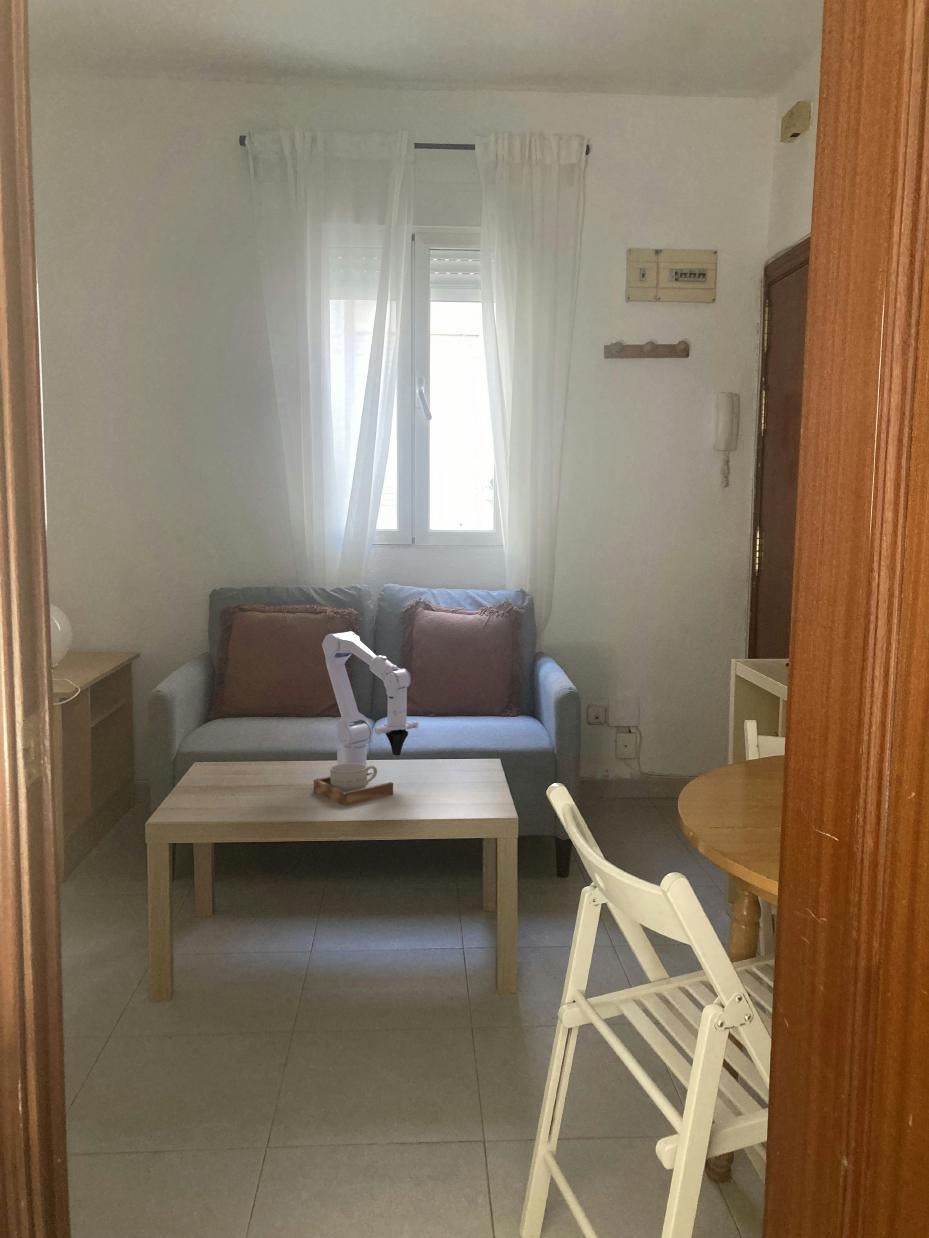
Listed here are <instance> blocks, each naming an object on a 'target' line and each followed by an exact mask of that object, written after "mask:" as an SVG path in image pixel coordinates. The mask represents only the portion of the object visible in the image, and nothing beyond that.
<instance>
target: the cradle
mask: <svg viewBox="0 0 929 1238" xmlns="http://www.w3.org/2000/svg"><path fill="white" fill-rule="evenodd" d="M313 793H316V794H318V795H320V796H323V797H324V798H327V799H329V800H331V801H333V802H335V803H338V804H340V805H341V806H344V807H345V806H351V805H354V804H359V803H363V802H369V801H372V800H376V799H381V798H384V797H390V796H393V795H394V783H393V782H392V781H389V782H386V783H385V782H384V783H381V784H380V783H379V784H376V785H372V786H366V788H361V789H356V790H352V791H347V792H345V791H343V790H341V789H338V788H336V787H334V786H332V785H331V779H330V776H326V777H321V778H316V779H313Z"/></svg>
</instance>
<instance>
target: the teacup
mask: <svg viewBox="0 0 929 1238" xmlns="http://www.w3.org/2000/svg"><path fill="white" fill-rule="evenodd" d="M371 769H372V770H373V771H372V775H371V776H370V777H368V774H367V773H368V770H369V771H370V770H371ZM329 770H330V771H329V772H330V773H329V777H330V779H331V785H332V786H334V787H336V788H338V789H341V790H343V791H345V792H347V791H352V790H356V789H361V788H366V787H367V786H368V784H369V783H370V782H372V781H373V780H374V779H375V778H376V777H377V775H378V769H377V767H376V765H373V764H368V765H367V764H366V765H364V764H359V763H345V764H338V765H337V764H335V765H332V766H331V767H329Z"/></svg>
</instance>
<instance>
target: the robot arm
mask: <svg viewBox="0 0 929 1238" xmlns="http://www.w3.org/2000/svg"><path fill="white" fill-rule="evenodd" d="M321 647H322V649H323V650H322V651H323V653H324V657H325V665H326V668H327V672H328V676H329V679H330V682H331V685H332V689H333V693H334V696H335V701H336V703H337V707H338V711H339V713H340V719H339V720H338V721H337V723H336V728H337V739H338V742H339V743H340V745H338V748H337V753H336V754H337V757H336V758H337V759H336V760H337V763H336V765H338V764H345V763H359V764H364V765H366V766H367V745H368V744H369V741H370V740H371V738H372V735H373V729H372V727H371V725H370V724H369V722H368V720H367V717H366V716H365V715H364V714H362V713H361V712H360V711H359V710H358V705H357V702H356V699H355V696H354V692H353V689H352V686H351V682H350V678H349V676H348V672H347V668H346V665H345V664H346V662H347V661H348V659H349V658H350V657H351V655H352V654H353V655H355V656H356V657H357V658H359V659H360V660H362V661H363V662H365V663H366V664H367V665H369V670H370V672H372V673H373V674H374V675H375V676H377V677H378V678H379V679H381V681H383V686H384V687H385V690H386V691H385V693H386V696H387V715H386V716H387V717H386V718H387V719H386V720H387V722H386V723H385V724H382V725H379V726H375V727H374V734H375V735H378V736H379V735H383V734H385V735H386V738H387V739H388V742H389V745H390V747H391V748H390V749H391V752H392V755H394V756H401V752H402V750H403V746H404V743H405V741H406V739H407V737H408V735H409V731H407V730H410V729H419V721H416V720H410V721H409V720H408V721H407V716H408V715H407V714H408V713H407V711H408V710H407V708H408V705H407V704H408V701H407V698H408V688H409V687H410V685H411V684H412V677H411V673H410V672H409V671H408V669H406V668H400V667H398V665H396V664H393V662H391V661H389V659H388V657H387V656H385V655H376V654H375V653H374V652H373V651H372V650H371V649H370V648H369V647H367V646H366V645H365V644H364V643H363V642H362V641H361V639H360V636H359V635H357V634H356V633H355V632H354V631H345V632H338V633H329V634H327V635H326V636H325V637H324V639H323V641H322V643H321ZM369 774H373V771H372V770H370V769H369V770H368V773H367V775H369Z"/></svg>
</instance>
